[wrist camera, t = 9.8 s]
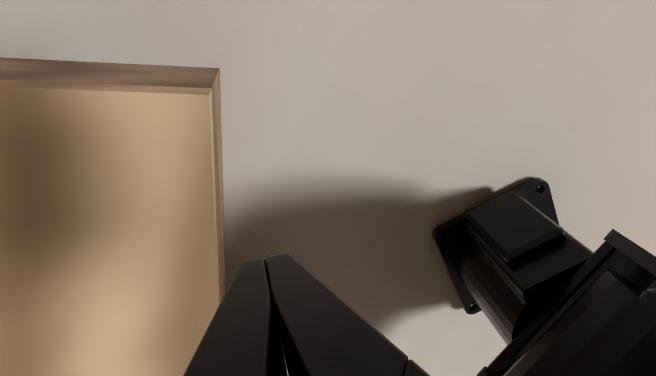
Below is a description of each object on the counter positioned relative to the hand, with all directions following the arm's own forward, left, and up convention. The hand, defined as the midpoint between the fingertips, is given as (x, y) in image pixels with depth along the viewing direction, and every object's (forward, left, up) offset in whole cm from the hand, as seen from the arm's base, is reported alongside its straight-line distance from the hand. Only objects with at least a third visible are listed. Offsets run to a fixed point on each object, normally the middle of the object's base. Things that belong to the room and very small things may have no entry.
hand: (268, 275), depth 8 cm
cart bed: (-2, +11, -12) cm, 16 cm away
